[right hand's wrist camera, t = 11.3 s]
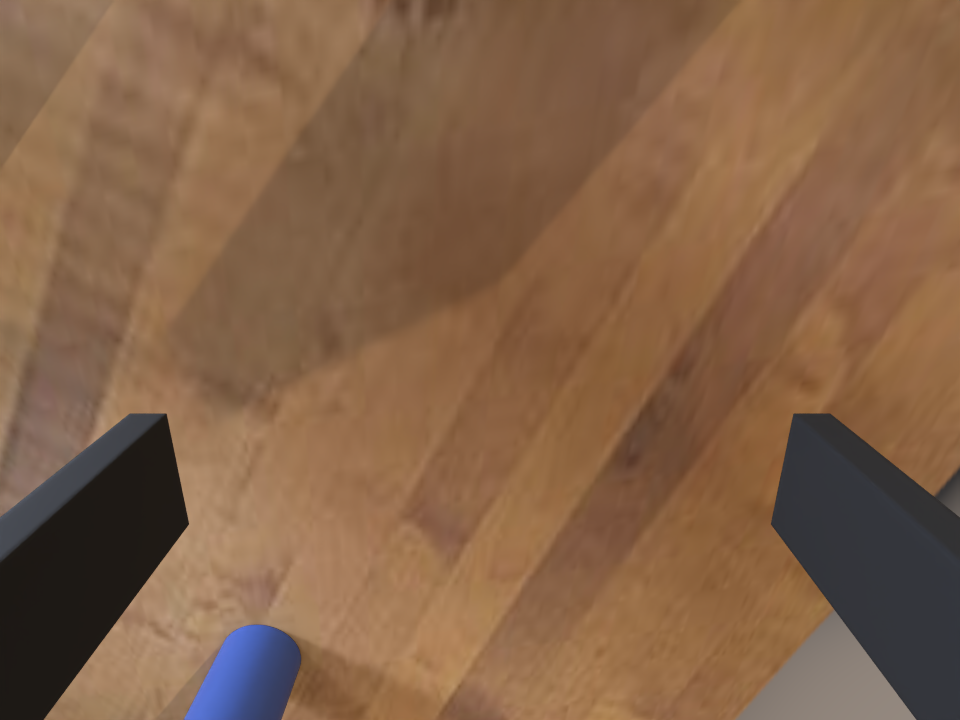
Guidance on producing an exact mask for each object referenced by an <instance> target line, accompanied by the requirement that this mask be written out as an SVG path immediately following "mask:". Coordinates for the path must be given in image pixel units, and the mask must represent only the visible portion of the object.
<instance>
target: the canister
mask: <svg viewBox="0 0 960 720" xmlns="http://www.w3.org/2000/svg"><path fill="white" fill-rule="evenodd" d="M300 664H301V655H300V651H299V648H298V646H297V645H296V643H295V642H294V641H293V639H292V638H291V637H289V636H288V635H287V634H286V633H284V632H282V631H280V630H278V629H276V628H273V627H270V626H265V625H249V626H245V627H242V628H239V629H237V630H235V631H234V632H232V633H231V634H230V635H229V636H228V637H227V638H226V640H225V642H224V644H223V645H222V647H221V649H220V651H219V653H218V655H217V657H216V659H215V661H214V663H213V665H212V667H211V668H210V670H209V672H208V674H207V676H206V678H205V680H204V682H203V684H202V686H201V688H200V690H199V692H198V693H197V695H196V697H195V699H194V701H193V703H192V705H191V707H190V709H189V711H188V713H187V715H186V716H185V718H184V720H281V719H282V716H283V713H284V711H285V708H286V705H287V702H288V699H289V696H290V693H291V691H292V688H293V685H294V682H295V679H296V676H297V673H298V671H299V668H300Z"/></svg>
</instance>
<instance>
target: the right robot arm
mask: <svg viewBox="0 0 960 720" xmlns="http://www.w3.org/2000/svg"><path fill="white" fill-rule="evenodd" d="M188 525H189V522H188V517H187V512H186V507H185V502H184V497H183V492H182V487H181V482H180V477H179V473H178V468H177V463H176V458H175V453H174V448H173V443H172V438H171V433H170V428H169V424H168V419H167V414H129V415H128V416H126V417H125V418H124V419H123V420H121V421H120V422H119V423H118V424H116V425H115V426H114V427H113V428H111V429H110V430H109V431H108V432H106V433H105V434H104V435H103V436H101V437H100V438H99V439H98V440H96V441H95V442H94V443H93V444H91V445H90V446H89V447H88V448H86V449H85V450H84V451H83V452H81V453H80V454H79V455H78V456H76V457H75V458H74V459H73V460H71V461H70V462H69V463H68V464H66V465H65V466H64V467H63V468H61V469H60V470H59V471H58V472H56V473H55V474H54V475H53V476H51V477H50V478H49V479H48V480H46V481H45V482H44V483H43V484H41V485H40V486H39V487H38V488H36V489H35V490H34V491H33V492H31V493H30V494H29V495H28V496H26V497H25V498H24V499H23V500H22V501H20V502H19V503H18V504H17V505H15V506H14V507H13V508H12V509H10V510H9V511H8V512H7V513H5V514H4V515H3V516H2V517H0V720H44V718H45V717H46V716H47V714H48V713H49V712H50V710H51V709H52V708H53V706H54V705H55V704H56V702H57V701H58V700H59V698H60V697H61V696H62V694H63V693H64V692H65V690H66V689H67V687H68V686H69V685H70V683H71V682H72V681H73V679H74V678H75V677H76V675H77V674H78V673H79V671H80V670H81V669H82V667H83V666H84V665H85V663H86V662H87V661H88V659H89V658H90V657H91V655H92V654H93V653H94V651H95V650H96V649H97V647H98V646H99V644H100V643H101V642H102V640H103V639H104V638H105V636H106V635H107V634H108V632H109V631H110V630H111V628H112V627H113V626H114V624H115V623H116V622H117V620H118V619H119V618H120V616H121V615H122V614H123V612H124V611H125V610H126V608H127V607H128V605H129V604H130V603H131V601H132V600H133V599H134V597H135V596H136V595H137V593H138V592H139V591H140V589H141V588H142V587H143V585H144V584H145V583H146V581H147V580H148V579H149V577H150V576H151V575H152V573H153V572H154V571H155V569H156V568H157V567H158V565H159V564H160V562H161V561H162V560H163V558H164V557H165V556H166V554H167V553H168V552H169V550H170V549H171V548H172V546H173V545H174V544H175V542H176V541H177V540H178V538H179V537H180V536H181V534H182V533H183V532H184V530H185V529H186V528H187V526H188ZM771 525H772V526H773V528H774V529H775V530H776V532H777V533H778V534H779V536H780V537H781V538H782V540H783V541H784V542H785V544H786V545H787V546H788V548H789V549H790V550H791V552H792V553H793V554H794V556H795V557H796V558H797V560H798V561H799V562H800V564H801V565H802V567H803V568H804V569H805V571H806V572H807V573H808V575H809V576H810V577H811V579H812V580H813V581H814V583H815V584H816V585H817V587H818V588H819V589H820V591H821V592H822V593H823V595H824V596H825V597H826V599H827V600H828V601H829V603H830V604H831V605H832V607H833V608H834V610H835V611H836V612H837V614H838V615H839V616H840V618H841V619H842V620H843V622H844V623H845V624H846V626H847V627H848V628H849V630H850V631H851V632H852V634H853V635H854V636H855V638H856V639H857V640H858V642H859V643H860V644H861V646H862V647H863V649H864V650H865V651H866V652H867V654H868V655H869V656H870V658H871V659H872V661H873V662H874V663H875V665H876V666H877V667H878V669H879V670H880V671H881V673H882V674H883V675H884V677H885V678H886V679H887V681H888V682H889V683H890V685H891V686H892V687H893V689H894V690H895V691H896V693H897V694H898V696H899V697H900V698H901V700H902V701H903V702H904V704H905V705H906V706H907V708H908V709H909V710H910V712H911V713H912V714H913V716H914V717H915V718H916V720H960V517H958V516H957V515H956V514H955V513H953V512H952V511H951V510H950V509H948V508H947V507H946V506H945V505H943V504H942V503H941V502H940V501H938V500H937V499H936V498H935V497H934V496H932V495H931V494H930V493H929V492H927V491H926V490H925V489H924V488H922V487H921V486H920V485H919V484H917V483H916V482H915V481H914V480H912V479H911V478H910V477H909V476H907V475H906V474H905V473H904V472H902V471H901V470H900V469H899V468H897V467H896V466H895V465H894V464H892V463H891V462H890V461H889V460H887V459H886V458H885V457H884V456H882V455H881V454H880V453H879V452H877V451H876V450H875V449H874V448H872V447H871V446H870V445H869V444H867V443H866V442H865V441H864V440H862V439H861V438H860V437H859V436H857V435H856V434H855V433H854V432H852V431H851V430H850V429H849V428H847V427H846V426H845V425H844V424H842V423H841V422H840V421H839V420H837V419H836V418H835V417H834V416H832V415H831V414H793V419H792V424H791V428H790V433H789V438H788V443H787V448H786V453H785V458H784V463H783V468H782V473H781V477H780V482H779V487H778V492H777V497H776V502H775V507H774V512H773V517H772V522H771Z"/></svg>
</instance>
